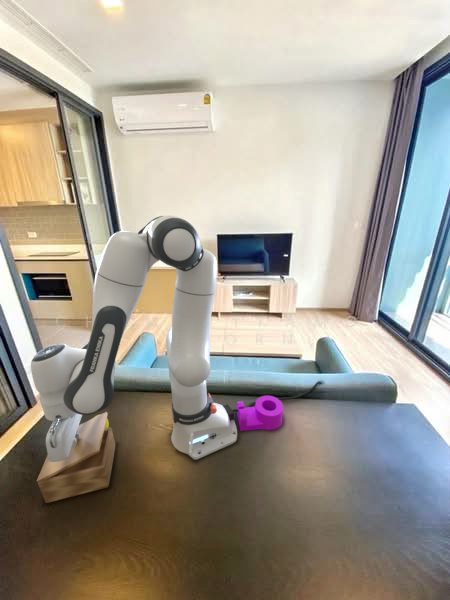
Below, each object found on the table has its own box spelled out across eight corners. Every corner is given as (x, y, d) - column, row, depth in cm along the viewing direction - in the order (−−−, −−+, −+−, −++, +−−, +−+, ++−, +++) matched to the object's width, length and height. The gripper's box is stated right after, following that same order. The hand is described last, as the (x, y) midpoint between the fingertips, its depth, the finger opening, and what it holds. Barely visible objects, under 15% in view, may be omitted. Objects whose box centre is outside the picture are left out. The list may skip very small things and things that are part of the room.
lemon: (103, 441, 83) (99, 423, 81) (89, 439, 84) (84, 421, 82) (113, 428, 89) (109, 410, 86) (100, 426, 90) (95, 408, 87)
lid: (107, 413, 77) (106, 411, 77) (99, 452, 65) (97, 450, 65) (57, 438, 76) (55, 436, 76) (38, 483, 64) (36, 481, 63)
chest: (115, 445, 82) (111, 427, 80) (108, 487, 70) (103, 467, 67) (62, 457, 79) (56, 438, 76) (45, 503, 66) (37, 483, 64)
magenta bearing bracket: (277, 407, 97) (278, 394, 95) (285, 428, 88) (287, 414, 86) (236, 410, 96) (236, 397, 93) (240, 432, 86) (241, 418, 84)
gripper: (64, 432, 57) (77, 474, 61) (86, 377, 75) (94, 412, 80) (32, 439, 55) (48, 481, 60) (62, 380, 74) (73, 416, 78)
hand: (75, 441), depth 70 cm, fingers closed, pressing on lid
